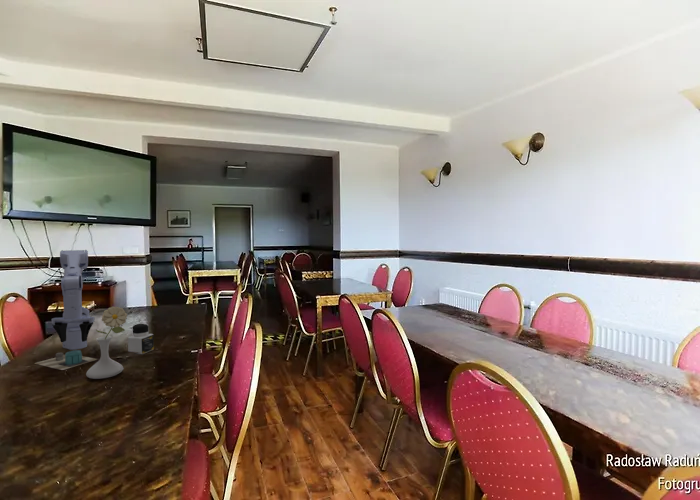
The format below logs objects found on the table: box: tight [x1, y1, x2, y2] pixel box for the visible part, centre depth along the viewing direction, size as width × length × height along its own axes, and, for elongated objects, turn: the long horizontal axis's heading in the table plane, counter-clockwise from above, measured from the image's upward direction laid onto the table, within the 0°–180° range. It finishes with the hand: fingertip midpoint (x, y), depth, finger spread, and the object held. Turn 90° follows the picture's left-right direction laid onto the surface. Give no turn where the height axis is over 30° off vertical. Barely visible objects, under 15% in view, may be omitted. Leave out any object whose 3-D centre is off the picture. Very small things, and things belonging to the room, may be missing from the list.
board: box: [34, 352, 99, 371], centre depth 149 cm, size 18×13×4 cm
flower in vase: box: [85, 306, 128, 380], centre depth 137 cm, size 13×11×25 cm
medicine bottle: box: [127, 323, 155, 355], centre depth 164 cm, size 7×7×12 cm
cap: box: [64, 349, 83, 365], centre depth 147 cm, size 5×5×4 cm
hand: (74, 341), depth 148 cm, fingers open, 7 cm apart
